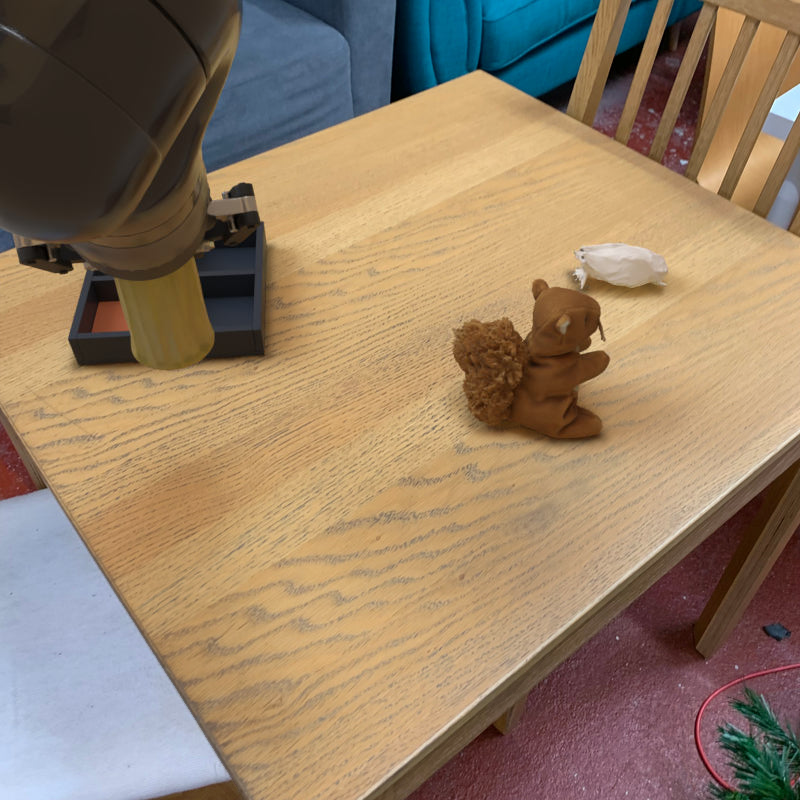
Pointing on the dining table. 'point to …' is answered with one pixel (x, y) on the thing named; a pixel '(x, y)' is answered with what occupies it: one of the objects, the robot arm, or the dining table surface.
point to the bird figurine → (620, 265)
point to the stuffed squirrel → (534, 365)
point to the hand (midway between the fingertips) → (151, 251)
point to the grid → (223, 296)
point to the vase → (167, 319)
